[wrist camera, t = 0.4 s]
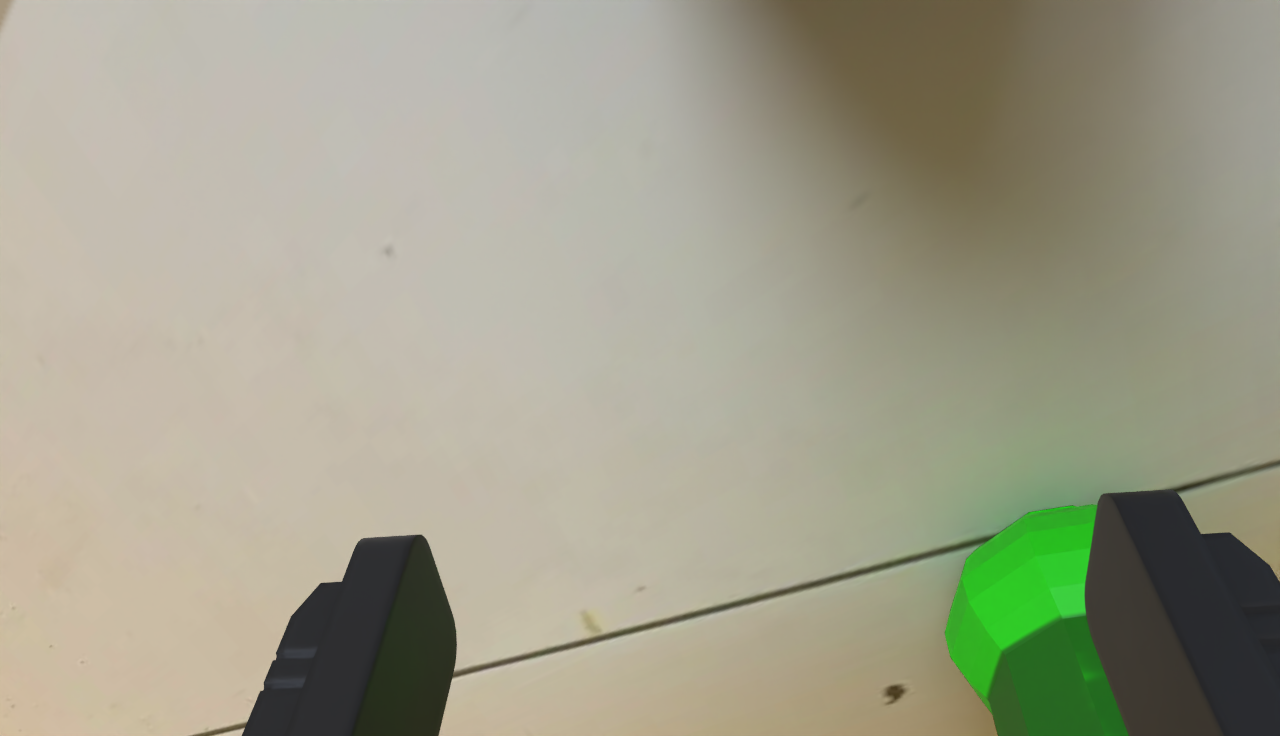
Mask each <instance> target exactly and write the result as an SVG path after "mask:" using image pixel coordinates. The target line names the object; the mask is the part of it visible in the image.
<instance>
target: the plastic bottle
mask: <svg viewBox="0 0 1280 736" xmlns="http://www.w3.org/2000/svg"><path fill="white" fill-rule="evenodd" d="M1096 510H1097V505H1093V504H1091V505H1085V506H1079V507H1076V506H1073V505H1072V506H1065V507H1059V508H1053V509H1046V510H1040V511H1034V512H1029V513H1027V514H1026V515H1024V516H1023V517H1021V518H1020V519H1019V520H1017V521H1016V522H1014V523H1013V524H1011V525H1010V526H1009V527H1007V528H1006V529H1004V530H1003V531H1002V532H1000V533H999V534H997V535H996V536H994V537H993V538H992V539H990V540H989V541H987V542H986V543H984V544H983V545H982V546H980V547H979V548H977V549H976V550H975V551H974V552H973V553H972V554H971V555H970V556H969V557H968V558H967V559H966V562H965V565H964V568H963V571H962V574H961V578H960V581H959V584H958V587H957V591H956V594H955V597H954V600H953V603H952V607H951V610H950V614H949V618H948V622H947V626H946V630H945V636H946V641H947V645H948V649H949V653H950V657H951V659H952V660H953V661H954V663H955V664H956V666H957V667H958V668H959V670H960V671H961V673H962V674H963V675H964V677H965V678H966V679H967V681H968V682H969V684H970V685H971V686H972V688H973V689H974V691H975V692H976V693H977V695H978V696H979V698H980V699H981V700H982V702H983V703H984V704H985V706H986V707H987V708H988V709H989V711H990V712H991V713H992V715H993V718H994V722H995V726H996V729H997V733H998V736H1129V734H1128V732H1127V729H1126V727H1125V724H1124V721H1123V719H1122V716H1121V714H1120V711H1119V708H1118V706H1117V703H1116V700H1115V698H1114V695H1113V693H1112V690H1111V687H1110V685H1109V682H1108V680H1107V677H1106V674H1105V672H1104V669H1103V666H1102V664H1101V661H1100V659H1099V656H1098V653H1097V651H1096V648H1095V646H1094V643H1093V640H1092V637H1091V634H1090V630H1089V626H1088V622H1087V616H1086V609H1085V581H1086V575H1087V568H1088V562H1089V555H1090V549H1091V543H1092V536H1093V530H1094V523H1095V517H1096Z"/></svg>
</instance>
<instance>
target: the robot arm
mask: <svg viewBox="0 0 1280 736" xmlns="http://www.w3.org/2000/svg"><path fill="white" fill-rule="evenodd" d="M1085 609H1086V616H1087V622H1088V626H1089V630H1090V634H1091V637H1092V640H1093V643H1094V646H1095V648H1096V651H1097V653H1098V656H1099V659H1100V661H1101V664H1102V666H1103V669H1104V672H1105V674H1106V677H1107V680H1108V682H1109V685H1110V687H1111V690H1112V693H1113V695H1114V698H1115V700H1116V703H1117V706H1118V708H1119V711H1120V714H1121V716H1122V719H1123V721H1124V724H1125V727H1126V729H1127V732H1128V734H1129V736H1280V582H1279V580H1278V579H1277V577H1276V575H1275V574H1274V572H1273V570H1272V569H1271V567H1270V565H1268V564H1267V563H1266V562H1265V561H1264V560H1262V559H1261V558H1260V557H1259V556H1257V555H1256V554H1255V553H1254V552H1253V551H1251V550H1250V549H1249V548H1248V547H1246V546H1245V545H1244V544H1243V543H1242V542H1240V541H1239V540H1238V539H1237V538H1235V537H1234V536H1233V535H1232V534H1231V533H1212V534H1200V532H1199V530H1198V528H1197V526H1196V524H1195V523H1194V521H1193V519H1192V517H1191V515H1190V513H1189V512H1188V510H1187V508H1186V506H1185V504H1184V502H1183V501H1182V499H1181V498H1180V496H1179V495H1178V494H1177V493H1176V492H1175V491H1174V490H1154V491H1139V492H1123V493H1107V494H1103V495H1101V497H1100V499H1099V501H1098V505H1097V510H1096V517H1095V523H1094V530H1093V536H1092V543H1091V549H1090V555H1089V562H1088V568H1087V575H1086V581H1085ZM456 647H457V642H456V628H455V622H454V618H453V614H452V611H451V608H450V605H449V602H448V599H447V596H446V594H445V591H444V588H443V585H442V582H441V579H440V576H439V573H438V570H437V567H436V564H435V561H434V558H433V555H432V552H431V549H430V547H429V544H428V542H427V540H426V538H425V537H424V536H422V535H407V536H391V537H375V538H363V539H361V540H360V541H359V542H358V543H357V545H356V547H355V549H354V551H353V554H352V557H351V559H350V562H349V565H348V567H347V570H346V573H345V575H344V578H343V581H342V582H331V583H320V585H319V586H318V587H317V588H316V589H315V590H314V591H313V592H312V594H311V595H310V596H309V597H308V598H307V599H306V600H305V601H304V603H303V604H302V605H301V606H300V607H299V608H298V609H297V610H296V612H295V613H294V614H293V615H292V616H291V618H290V621H289V623H288V626H287V628H286V630H285V633H284V635H283V638H282V640H281V642H280V645H279V647H278V650H277V652H276V655H277V658H276V660H274V661H273V662H272V664H271V667H270V669H269V671H268V674H267V676H266V679H265V681H264V690H263V691H260V693H259V696H258V698H257V700H256V703H255V705H254V708H253V710H252V713H251V715H250V717H249V720H248V722H247V725H246V727H245V729H244V732H243V734H242V736H438V735H439V731H440V727H441V723H442V718H443V714H444V710H445V706H446V701H447V697H448V693H449V689H450V685H451V680H452V676H453V672H454V667H455V661H456Z"/></svg>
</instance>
